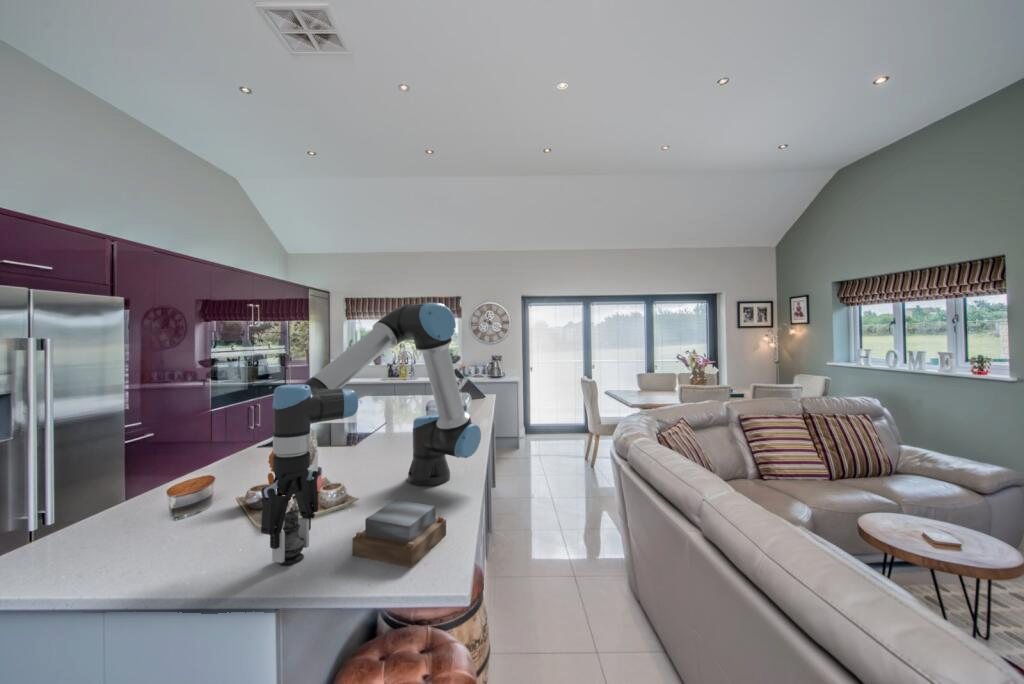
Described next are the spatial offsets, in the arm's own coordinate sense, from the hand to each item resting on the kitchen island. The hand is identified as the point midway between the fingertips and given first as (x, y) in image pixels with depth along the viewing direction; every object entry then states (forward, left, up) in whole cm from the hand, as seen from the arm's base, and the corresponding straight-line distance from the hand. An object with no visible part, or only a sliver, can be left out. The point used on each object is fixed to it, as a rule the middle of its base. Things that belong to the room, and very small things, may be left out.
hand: (291, 553), depth 92 cm
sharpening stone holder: (-14, +20, -1) cm, 24 cm away
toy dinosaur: (-28, -33, -2) cm, 43 cm away
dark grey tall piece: (0, 0, -2) cm, 2 cm away
